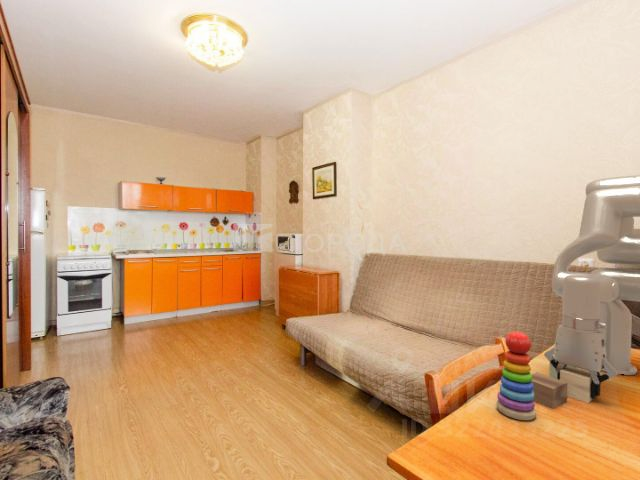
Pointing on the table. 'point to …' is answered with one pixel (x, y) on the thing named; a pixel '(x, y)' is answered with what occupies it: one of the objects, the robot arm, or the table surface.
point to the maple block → (577, 383)
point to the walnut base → (549, 390)
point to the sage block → (554, 371)
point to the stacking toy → (517, 380)
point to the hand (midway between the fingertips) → (577, 391)
